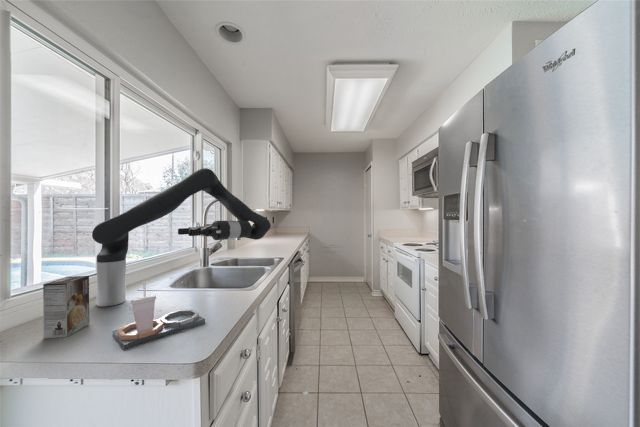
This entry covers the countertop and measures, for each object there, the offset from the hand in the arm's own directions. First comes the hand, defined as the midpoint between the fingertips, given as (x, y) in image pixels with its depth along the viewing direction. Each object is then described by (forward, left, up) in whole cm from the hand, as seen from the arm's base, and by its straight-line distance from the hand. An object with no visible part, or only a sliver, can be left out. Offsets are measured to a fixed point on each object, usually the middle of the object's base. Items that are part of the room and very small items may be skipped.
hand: (183, 232), depth 90 cm
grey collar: (+4, -3, -28) cm, 29 cm away
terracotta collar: (+4, -14, -28) cm, 32 cm away
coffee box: (-17, -27, -30) cm, 44 cm away
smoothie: (+6, -13, -28) cm, 32 cm away
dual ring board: (+4, -8, -30) cm, 31 cm away
